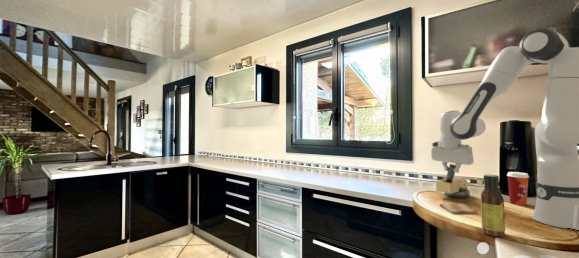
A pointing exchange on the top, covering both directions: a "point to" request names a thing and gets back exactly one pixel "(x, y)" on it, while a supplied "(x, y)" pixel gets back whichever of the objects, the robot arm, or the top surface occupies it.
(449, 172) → the steel cylinder
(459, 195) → the chuck base
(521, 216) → the top surface
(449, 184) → the chuck collar
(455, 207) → the wooden mat
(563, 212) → the robot arm
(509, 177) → the paper cup
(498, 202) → the sauce bottle
